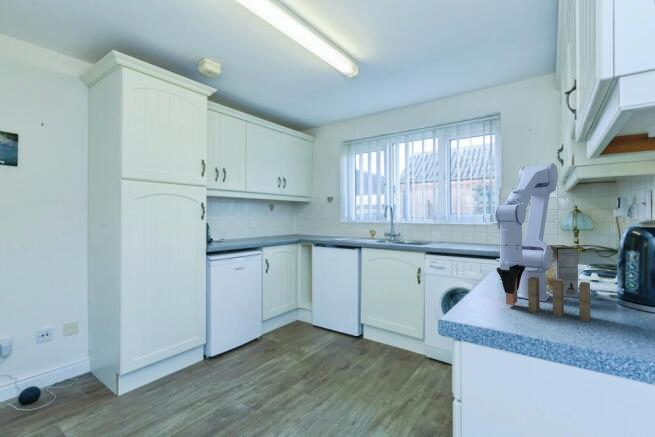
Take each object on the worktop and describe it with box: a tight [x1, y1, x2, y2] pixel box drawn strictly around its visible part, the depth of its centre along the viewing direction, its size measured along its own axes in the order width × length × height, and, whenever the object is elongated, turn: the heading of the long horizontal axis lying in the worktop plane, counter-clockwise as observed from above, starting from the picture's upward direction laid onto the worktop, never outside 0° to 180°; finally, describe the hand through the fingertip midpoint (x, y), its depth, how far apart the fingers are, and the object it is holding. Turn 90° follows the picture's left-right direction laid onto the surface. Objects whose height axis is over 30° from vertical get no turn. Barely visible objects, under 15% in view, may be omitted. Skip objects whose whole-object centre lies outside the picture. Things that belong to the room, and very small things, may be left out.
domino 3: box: [552, 279, 565, 318], centre depth 82 cm, size 5×2×9 cm, turn 136°
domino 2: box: [527, 277, 541, 314], centre depth 86 cm, size 5×2×9 cm, turn 136°
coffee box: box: [546, 244, 579, 298], centre depth 103 cm, size 9×6×16 cm
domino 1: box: [505, 279, 518, 306], centre depth 90 cm, size 5×2×9 cm, turn 136°
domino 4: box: [578, 281, 591, 323], centre depth 78 cm, size 5×2×9 cm, turn 136°
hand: (511, 291), depth 90 cm, fingers closed on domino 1, 5 cm apart
